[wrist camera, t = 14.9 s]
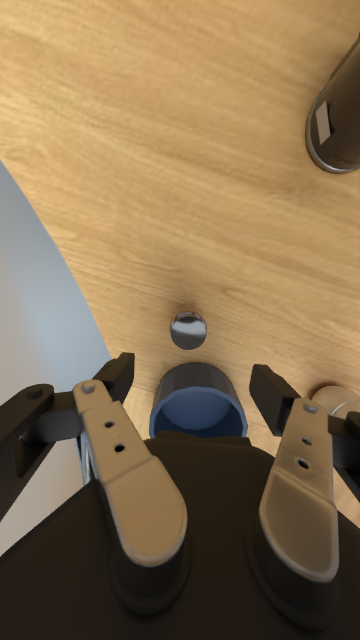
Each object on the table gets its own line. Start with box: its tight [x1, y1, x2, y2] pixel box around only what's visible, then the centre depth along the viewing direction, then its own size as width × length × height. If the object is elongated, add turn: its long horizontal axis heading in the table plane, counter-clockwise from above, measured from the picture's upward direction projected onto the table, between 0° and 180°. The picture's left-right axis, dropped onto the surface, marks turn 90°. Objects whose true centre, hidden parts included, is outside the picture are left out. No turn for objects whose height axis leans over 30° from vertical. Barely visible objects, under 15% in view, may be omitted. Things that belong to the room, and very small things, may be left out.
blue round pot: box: [149, 362, 248, 439], centre depth 27 cm, size 12×12×6 cm
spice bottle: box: [170, 304, 207, 350], centre depth 23 cm, size 4×4×8 cm
